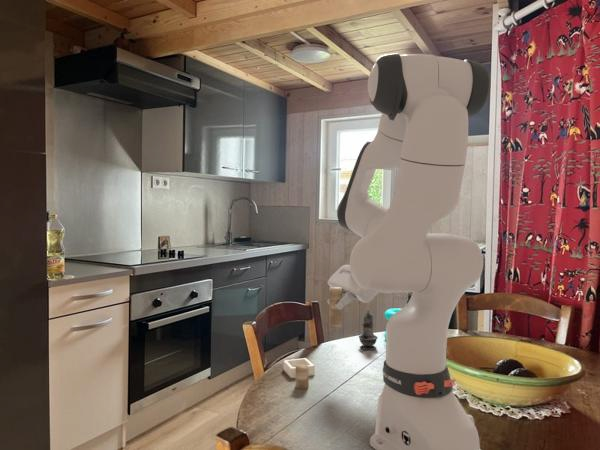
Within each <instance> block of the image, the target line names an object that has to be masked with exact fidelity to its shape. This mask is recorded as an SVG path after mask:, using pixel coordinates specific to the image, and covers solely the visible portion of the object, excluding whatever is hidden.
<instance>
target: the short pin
mask: <svg viewBox="0 0 600 450" xmlns="http://www.w3.org/2000/svg"><path fill="white" fill-rule="evenodd" d="M309 377H310V376H309V367H308V366H307V365H297V366H296V378H295V389H297V390H301V391H302V390H308V389H309V385H310V384H309Z"/></svg>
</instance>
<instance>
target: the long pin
mask: <svg viewBox="0 0 600 450" xmlns="http://www.w3.org/2000/svg"><path fill="white" fill-rule="evenodd" d="M328 292H329V293H328V297H329V298H328V299H329V304H328V309H329V311H328V313H329V314H328V315H329V317H328V318H329V319H328V320H329V321H328V323H329V324H328V326H329V328H330V329H342V327H343V326H342V325H343V324H342V323H343V317H342V315H343V309H342V310H339V309H337V308H336V307H335V306H334V304H335V303H336V302H337V301H338V300H340V299H341V298H343V294H342V288H341V287H330V286H329V290H328Z"/></svg>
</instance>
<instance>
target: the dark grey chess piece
mask: <svg viewBox="0 0 600 450" xmlns="http://www.w3.org/2000/svg"><path fill="white" fill-rule="evenodd" d="M373 319H374V316H373V314H372V313H371V312H370V310H367V311H366V313H365V314H364V315H363V324H362V327H363V331H362V334H360V335H358V338H359V343H360V344H361V345H360V346H359V350H361V351H365V352H366V351H367V352H371V351H372V352H373V351H377V347H376V346H375V344H376V343H377V339H378V336H377V335H375V334H374V326H375V325H374V323H373V322H374V320H373Z"/></svg>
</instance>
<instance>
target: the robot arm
mask: <svg viewBox="0 0 600 450" xmlns="http://www.w3.org/2000/svg"><path fill="white" fill-rule="evenodd" d="M367 79H368V80H367V93H368V97H369V101H370V104H371V105H372V106H373V108H374V109H375V110H376V111H377V112H380V113H381V115H380V119H379V123H378V129H377V132H376V134H375V137H374V138H373V139H370V140H367V142H366V143H364V145H363V146H362V148H361V149H360V152H359V153H358V156H357V159H356V161H355V164H354V167H353V169H352V172H351V175H350V178H349V182H348V184H347V187H346V190H345V192H344V195H343V197H342V198H341V200H340V202H339V204H338V206H337V210H336V216H337V221H338V224H339V225H340V226H341V227H342V228H344V229H346V230H348V231H350V232H353V233H354V234H356V235H358V236H359V237H360V239H359V240H358V241H356V243H355V245H354V246H353V248H352V250H351V253H350V257H349V264H343V265H342V266H339V268H338V269H337V270H336V271H335V272H334V273H333V274H331V276H330V277H329V279H328V281H327V282H326V283H327V285H328V286H329V288H330V287H341V288H342V295H344V296H342V298H341V299H340V300H338V301H337V302H336V303H335V304H334V306H335V307H336V308H337V309H339V310H342V311H343V308H345V306H347V305H348V304H350V303H352V302H353V301H354V300H357V301H360V302H362V303H365V304H367V303H369V302H371V301H372V300H373V299H374V298H375V297H376V296H378V294H379V293H380V294H381V293H383V294H398V293H399V294H401V293H412V294H411V297H410V298H409V300H408V302H407V303H406V304H405V306H403V307H402V308H401V310H400V311H398V312H396V313H395V314H394V315H392V317H391V318H390V319H389V320H387V321H388V322H387V323H386V325H385V326H386V327H385V328H386V329H385V330H386V331H385V332H386V339H385V360H384V361H383V367H382V375H383V377H382V378H383V379H382V381H383V383H384V386H383V388H382V391H381V393H380V395H379V397H378V400H377V408H376V417H375V418H376V420H375V430H374V433H373V434H372V435H371V436H370V438H369V446H370V447H372V448H373V449H374V450H482V449H481V446H480V437H479V432H478V429H477V426H476V424H475V423H476V422H475V419H474V416H473V415H471V414H467V412H466V410H465V409H464V407H463V406H462V404H461V403H460V402H459V400H458V398H457V397H456V396H455V394H454V393H453V389H454V388H453V386H454V387H455V386H456V384H455V383H454V382H456V381H457V380H456V379H455V378H454V379H451V373H450V372H449V368H448V366H447V345H448V343H447V342H448V330H449V326H450V322H451V318H452V315H453V313H454V311H455V309H456V307H457V305H458V303H459V301H460V300H461V298H462V297H463V296H464V294H465V293H466V292H467V291H468V290H469V289H470V288H471V287H472V286H473V285H475V284H476V283H477V282H478V280H479V279H480V278H481V275H482V272H483V270H484V256H483V253H482V250H481V249H480V247H479V245H478V243H477V242H476V241H475V240H474V239H472V238H471V237H467V236H462V235H459V234H454V233H453V234H452V233H448V232H447V233H444V232H441V233H429V231H430V230H431V229H432V228H433V227H434V226H435V224H437V223H438V222H439V221H440V220H443V219H444V218H446V217H447V216H449V215H450V214H452V213H453V212H454V211H455V209H456V208H457V206H458V204H459V200H460V196H461V195H460V194H461V189H462V183H463V178H464V173H465V165H466V161H467V154H468V145H469V144H468V143H469V118H472V117H476V115H478V114H479V113H480V112H481V111H482V110H483V109H484V108H485V106H486V104H487V102H488V99H489V96H490V91H491V76H490V72H489V70H488V69H487V67H486V65H484V64H483V63H480V62H478V61H475V60H471V59H464V60H462V59H458V58H453V57H447V56H440V55H439V56H437V55H434V54H431V53H430V54H427V53H412V54H411V53H409V54H408V53H407V54H400V53H398V52H397V53H390V54H389V53H388V54H387V53H386V54H384V55H380V56H379V57H378V58H377V60H376V59H375V62H374V63H373V65H372V68H371V69H370V73H369V76H368V78H367ZM377 170H385V171H397V177H396V181H395V182H396V183H395V188H394V191H393V192H394V193H393V197H392V200H391V202H390V205H389V206H388V207H389V208H388V207H385V206H384V205H381V204H380V203H378V202H376V201H374V199H372V198H371V197H370V196H369V194H368V191H369V189H370V185H371V184H372V180H373V178H374V176H375V173H376V171H377ZM326 303H327V304H328V305H329V298H328V299H327V301H326Z"/></svg>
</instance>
